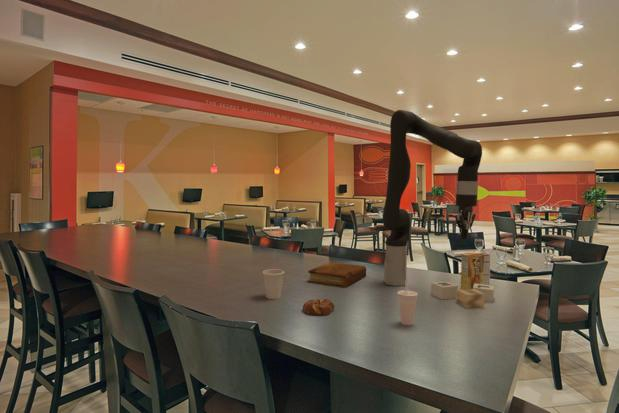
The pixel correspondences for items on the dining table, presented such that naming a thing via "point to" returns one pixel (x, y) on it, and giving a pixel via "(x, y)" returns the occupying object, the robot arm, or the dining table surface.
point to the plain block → (470, 298)
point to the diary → (337, 274)
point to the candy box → (471, 270)
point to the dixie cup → (273, 283)
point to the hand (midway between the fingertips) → (464, 238)
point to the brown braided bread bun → (318, 307)
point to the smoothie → (407, 305)
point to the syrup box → (486, 267)
